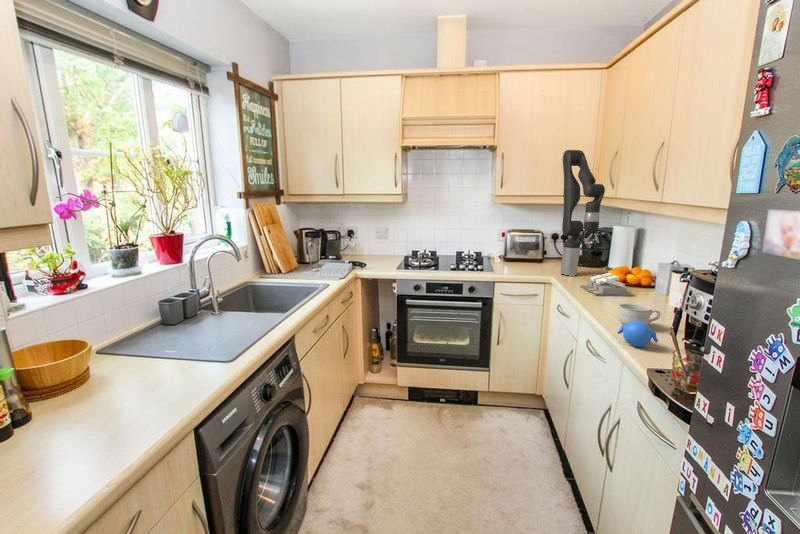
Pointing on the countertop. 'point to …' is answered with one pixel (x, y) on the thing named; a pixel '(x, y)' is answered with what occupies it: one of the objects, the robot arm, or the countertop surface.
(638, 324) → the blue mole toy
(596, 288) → the switch unit
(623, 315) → the teacup
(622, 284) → the rocker
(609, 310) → the countertop surface
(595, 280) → the rocker
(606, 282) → the rocker
